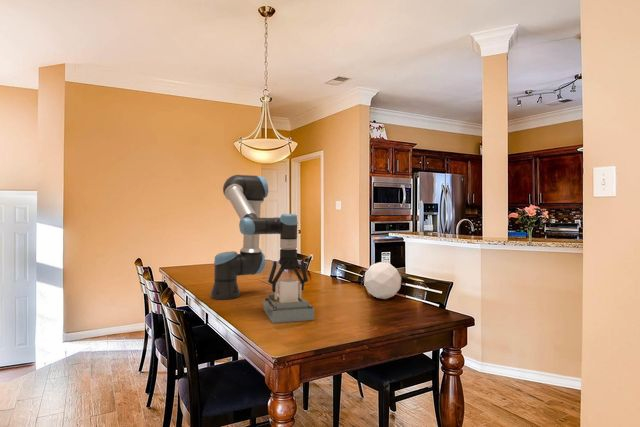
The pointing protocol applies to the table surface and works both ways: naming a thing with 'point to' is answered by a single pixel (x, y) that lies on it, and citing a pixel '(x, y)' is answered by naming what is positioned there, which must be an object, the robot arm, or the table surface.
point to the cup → (288, 290)
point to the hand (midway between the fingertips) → (287, 298)
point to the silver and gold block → (288, 310)
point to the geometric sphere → (382, 280)
